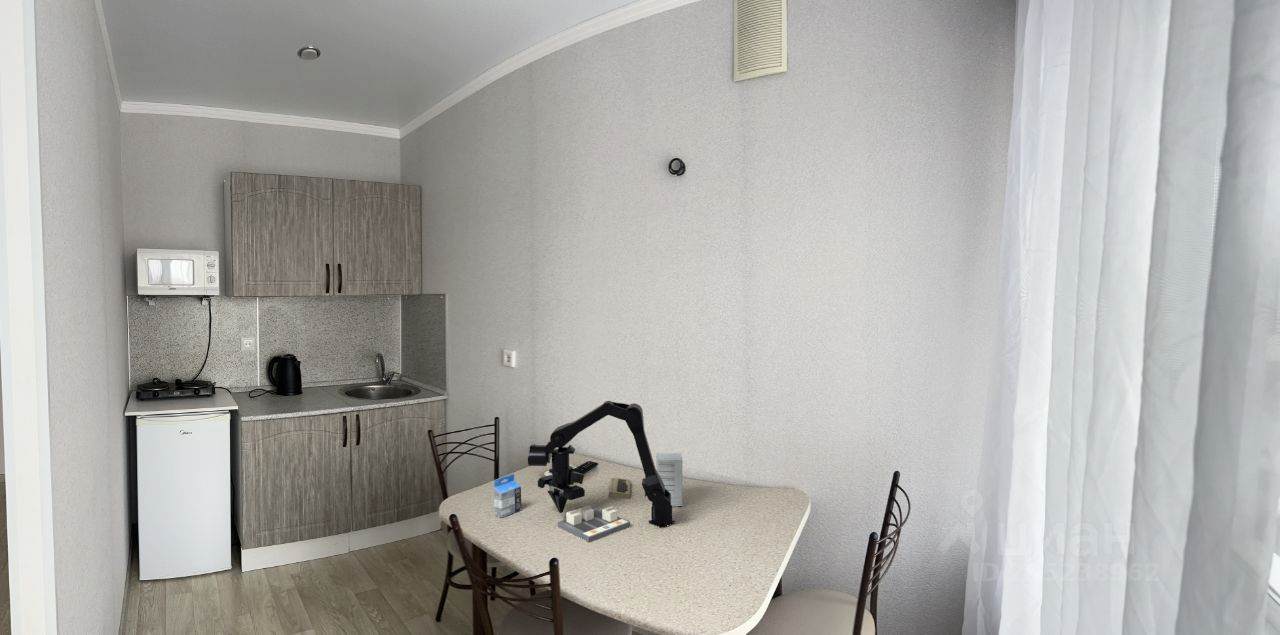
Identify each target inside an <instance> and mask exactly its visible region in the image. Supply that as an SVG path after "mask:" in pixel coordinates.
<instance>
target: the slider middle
mask: <svg viewBox="0 0 1280 635" xmlns="http://www.w3.org/2000/svg"><path fill="white" fill-rule="evenodd" d="M594 510H595V509H594V508H591V505H590V504H587V505H585V506H582V507H580V508H578V512H579V513H581V514H582V519H583V520H585V521H588V520H591V519H594Z"/></svg>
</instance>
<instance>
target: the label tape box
mask: <svg viewBox="0 0 1280 635" xmlns="http://www.w3.org/2000/svg"><path fill="white" fill-rule="evenodd" d="M504 480H505V481H504ZM493 497H494V498H493V499H494V500H493V501H494V516H495V515H496V516H495V517H497V516H499V517H498V518H500V517H502V518H501V519H503V518H506V517H508V516H510V515H513V514H515V513H517V512H520V511H522V510H523V509H522V506H523V505H522V487H521V486H520V485H519V483H517V482H516V481H515V473H512V474H510V475H506V476H503V477H499V478H497V479H494V480H493ZM507 515H508V516H507ZM505 516H506V517H505Z"/></svg>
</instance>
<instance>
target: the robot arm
mask: <svg viewBox="0 0 1280 635" xmlns="http://www.w3.org/2000/svg"><path fill="white" fill-rule="evenodd" d="M643 412H644V411H643V408H642V406H641V405H640V404H638V403H630V404H627V403H623V402H617V401H616V402H615V401H611V400H605V401H604V402H603V403H602V404H600V405H598V406H597V407H595V408H594V409H592V410H591V411H589V412H587V413H586V414H583V416H581V417H579V418H578V419H576V420H574V421H571V422H567V423H565V424H562V425H560V426H557V427H556V428H555V429H554V430H553V432H551V434H550V437H549V439H550V440H549V441H548V442H547V444H546V445H545V444H544V445H543V444H542V445H541V444H531V445H530V446H529V450H528V456H527V464H528V466H529V467H547V466H548V464H550V463H551V468H550V469H548V473H550V475H546V476H541V477H539V478H538V480H537V487H538V488H540V489H544V488H545V486H546V485H548V488H549V490H548V491H547V493H548V494H549V496H550V498H551V500H552V501H553V504H554V506H555V508H556V509H557V512H558V513H559V514H563V513H564V511H565V507H566V505H567V501H574V500H576V499H580V498H583V497H585V496H586V494H585V491H586V489H585V488H584V487H582V486H580V485H583V482H584V480H585V478H584V477H585V474H583V473H580V472H578V471H575V469H574V467H570V454H571V455H573V454H574V453H575V452H576V449H575V448H574V447H573V446H572V445H571V444H569V442H571V441H572V440H573V439H574V438H575V437H576V436H578V434H579V433H581V432H583V431H584V430H586V429H587V428H589V427H591V426H592V425H594V424H595V423H597V422H599V421H600V420H603V419H604V418H605V417H607V416H610V417H614V418H616V419H619V420H622V421H625V423H626V425H627V427H628V429H629V431H630V433H631V434H632V436H633V440H634V441H635V445H636V450H637V452H638V455H639V459H640V463H641V465H642V469H643V473H644V477H645V478H642V479H641V480H642V481H641V486H642V489H643V490H644V497H647V500H648V501H649V502H651V508H650V509H651V510H650V511H651V512H650V513H651V516H650V517H651V518H650V519H649V520H648V524H652V525H653V524H654V526H656V525H657V526H656V527H658V526H659V527H658V528H661V527H664V528H666V527H668V526H667V525H669V526H671V525H673V524H672V523H674V522H675V523H676V520H674V519H673V507H672V505H671V494H670V493H669V492H668V491H667V490H666V489H665V486H664V483H663V481H662V479H661V477H660V475H659V474H658V472H657V467H656V466H655V462H654V459H653V455H652V452H651V449H650V445H649V441H648V438H647V434H646V431H645V423H644V422H645V421H644V413H643ZM567 444H569V445H568V446H566V445H567ZM574 484H575V485H574ZM577 484H579V485H577ZM675 523H674V524H675ZM670 524H671V525H670ZM665 526H666V527H665Z"/></svg>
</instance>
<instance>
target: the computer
mask: <svg viewBox="0 0 1280 635" xmlns="http://www.w3.org/2000/svg"><path fill="white" fill-rule="evenodd" d="M631 486H632V485H631V479H627V478H619V477H611V478H610V481H609V487H608V495H607V498H608V499H611V500H612V499H613V500H614V499H615V500H622V499H623V500H624V499H625V500H627V499H631Z"/></svg>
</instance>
